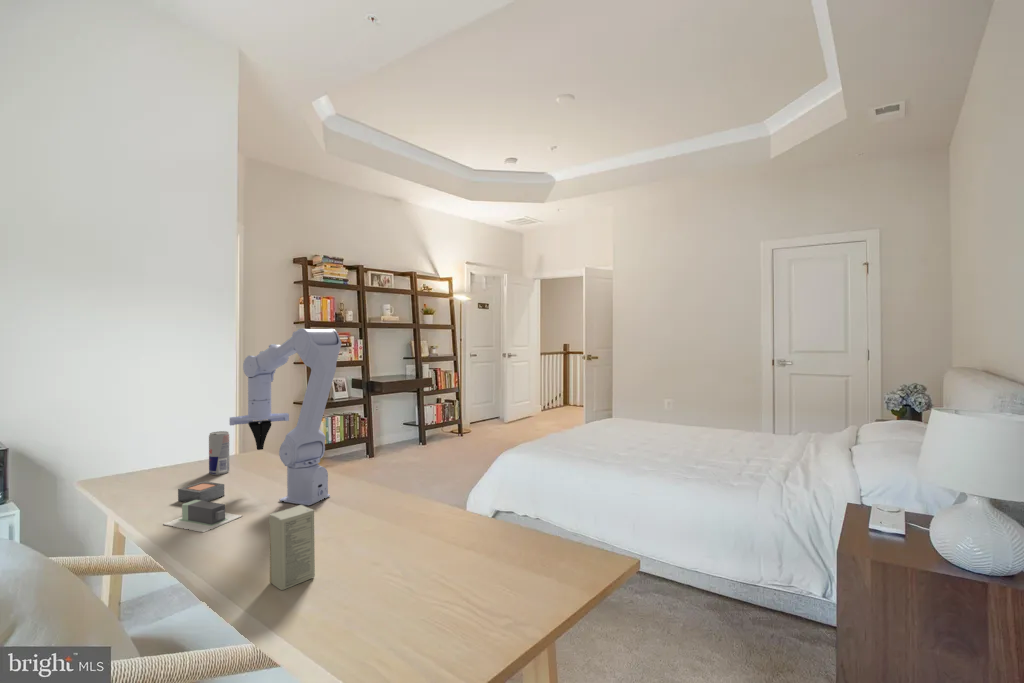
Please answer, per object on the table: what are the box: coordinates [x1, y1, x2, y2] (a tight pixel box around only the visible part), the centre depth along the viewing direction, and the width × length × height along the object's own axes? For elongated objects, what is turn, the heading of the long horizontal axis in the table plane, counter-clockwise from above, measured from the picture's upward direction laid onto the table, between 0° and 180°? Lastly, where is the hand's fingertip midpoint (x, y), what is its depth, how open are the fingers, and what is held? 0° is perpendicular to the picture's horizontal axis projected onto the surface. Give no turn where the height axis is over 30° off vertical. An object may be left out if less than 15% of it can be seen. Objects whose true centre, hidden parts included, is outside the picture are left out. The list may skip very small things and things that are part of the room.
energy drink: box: [208, 430, 230, 476], centre depth 156 cm, size 5×5×12 cm
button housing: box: [177, 480, 225, 503], centre depth 133 cm, size 7×7×3 cm
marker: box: [181, 500, 226, 525], centre depth 117 cm, size 10×3×3 cm, turn 70°
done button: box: [187, 484, 216, 491], centre depth 133 cm, size 4×4×2 cm
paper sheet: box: [162, 512, 243, 533], centre depth 118 cm, size 12×10×1 cm
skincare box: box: [268, 504, 316, 591], centre depth 90 cm, size 6×4×12 cm
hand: (259, 449), depth 143 cm, fingers closed
